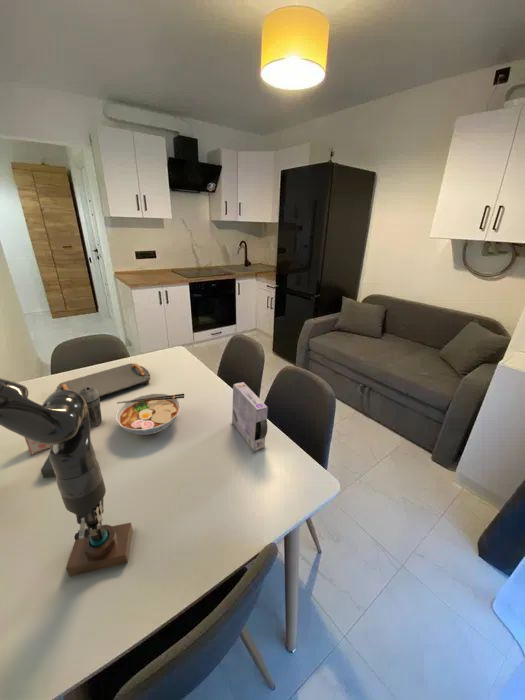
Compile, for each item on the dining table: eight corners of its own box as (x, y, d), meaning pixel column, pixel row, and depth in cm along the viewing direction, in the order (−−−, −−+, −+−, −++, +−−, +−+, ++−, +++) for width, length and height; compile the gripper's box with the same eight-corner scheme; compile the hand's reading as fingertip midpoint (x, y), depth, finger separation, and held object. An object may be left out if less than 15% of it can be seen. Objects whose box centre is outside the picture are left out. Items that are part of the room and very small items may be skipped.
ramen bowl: (108, 451, 98) (103, 431, 95) (123, 411, 119) (120, 394, 115) (184, 442, 103) (182, 423, 100) (186, 405, 124) (184, 389, 120)
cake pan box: (267, 449, 101) (269, 407, 94) (255, 454, 99) (256, 411, 92) (242, 418, 116) (242, 380, 109) (231, 422, 114) (230, 383, 107)
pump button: (89, 551, 65) (87, 546, 64) (93, 536, 68) (92, 530, 68) (107, 548, 66) (105, 542, 65) (110, 533, 69) (108, 527, 68)
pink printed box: (29, 448, 98) (20, 425, 94) (53, 439, 102) (45, 416, 98) (31, 454, 96) (21, 430, 92) (55, 445, 100) (47, 422, 96)
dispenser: (69, 576, 64) (63, 562, 62) (80, 541, 71) (75, 527, 69) (127, 563, 67) (124, 549, 65) (132, 530, 74) (129, 516, 72)
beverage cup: (108, 416, 115) (98, 372, 107) (102, 428, 109) (91, 382, 100) (88, 418, 114) (76, 373, 106) (81, 430, 107) (68, 384, 99)
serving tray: (138, 365, 155) (136, 355, 153) (157, 382, 140) (155, 371, 138) (52, 391, 131) (48, 379, 128) (64, 414, 116) (60, 401, 113)
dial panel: (43, 477, 88) (40, 469, 86) (54, 456, 96) (52, 448, 94) (83, 471, 90) (81, 463, 89) (91, 450, 98) (89, 443, 97)
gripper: (92, 506, 54) (110, 563, 61) (108, 455, 66) (121, 508, 73) (47, 514, 53) (70, 572, 60) (71, 461, 64) (88, 514, 71)
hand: (98, 536), depth 66 cm, fingers closed
